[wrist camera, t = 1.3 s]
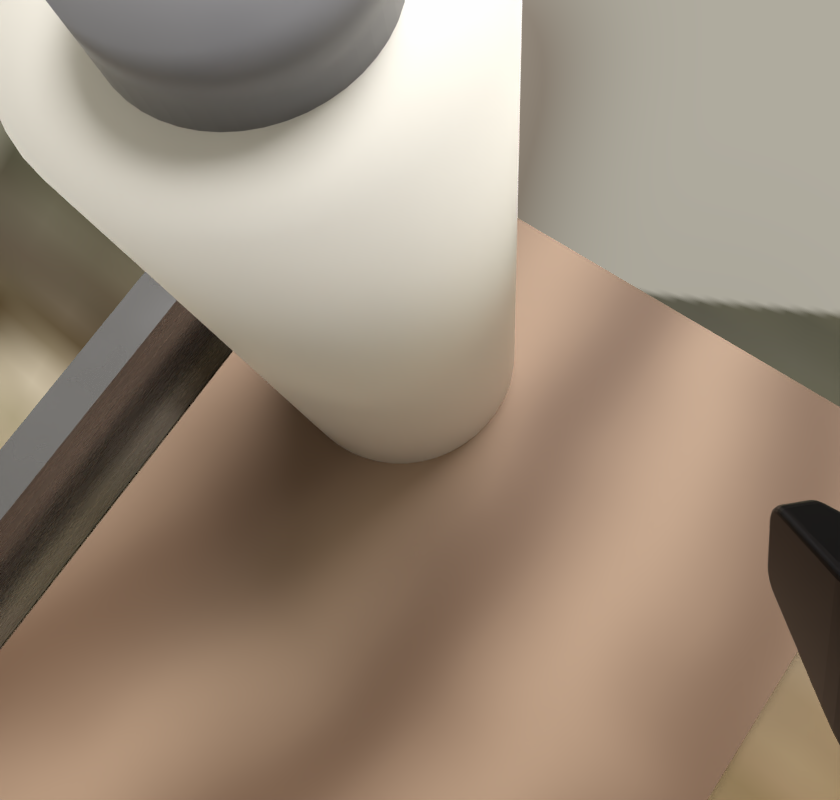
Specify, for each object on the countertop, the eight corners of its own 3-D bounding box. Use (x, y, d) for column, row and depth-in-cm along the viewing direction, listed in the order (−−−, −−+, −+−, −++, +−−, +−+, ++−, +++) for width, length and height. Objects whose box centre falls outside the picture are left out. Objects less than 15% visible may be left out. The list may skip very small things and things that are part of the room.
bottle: (451, 503, 20) (323, 283, 6) (254, 404, 21) (-218, 37, 7) (553, 300, 21) (638, -275, 7) (360, 217, 22) (119, -406, 8)
